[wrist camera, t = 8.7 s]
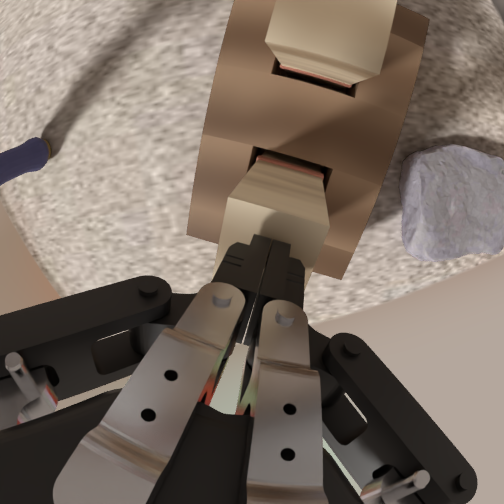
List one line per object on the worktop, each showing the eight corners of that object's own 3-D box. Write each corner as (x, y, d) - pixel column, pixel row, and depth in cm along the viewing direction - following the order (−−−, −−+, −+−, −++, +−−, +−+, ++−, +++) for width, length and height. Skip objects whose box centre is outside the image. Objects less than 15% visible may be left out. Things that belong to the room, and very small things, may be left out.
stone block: (390, 146, 23) (397, 253, 26) (407, 143, 18) (413, 271, 21) (489, 146, 20) (491, 242, 23) (516, 147, 16) (516, 256, 19)
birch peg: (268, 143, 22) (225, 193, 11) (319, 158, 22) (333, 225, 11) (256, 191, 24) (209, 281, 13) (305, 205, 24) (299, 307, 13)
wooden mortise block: (259, -6, 17) (244, -34, 11) (402, 35, 16) (429, 19, 11) (210, 206, 27) (186, 234, 22) (335, 242, 26) (341, 280, 21)
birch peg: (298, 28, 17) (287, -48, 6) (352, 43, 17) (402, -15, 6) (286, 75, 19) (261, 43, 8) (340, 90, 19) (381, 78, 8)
